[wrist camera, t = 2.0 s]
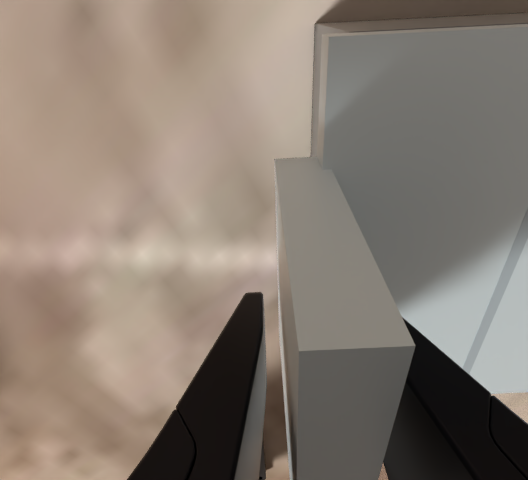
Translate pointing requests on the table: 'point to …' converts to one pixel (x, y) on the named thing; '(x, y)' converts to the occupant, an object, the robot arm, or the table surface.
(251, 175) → the table surface
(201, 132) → the table surface
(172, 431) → the robot arm
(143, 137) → the table surface
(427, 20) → the tub
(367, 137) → the lid
